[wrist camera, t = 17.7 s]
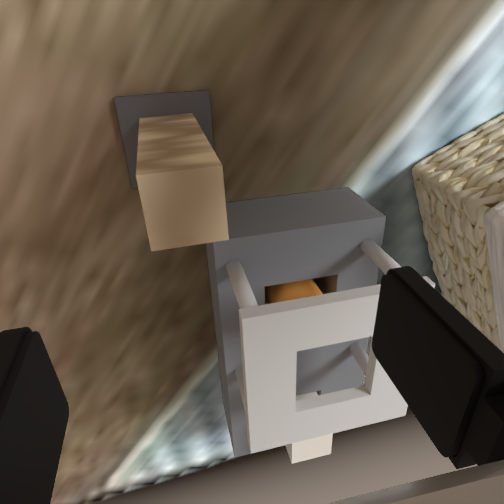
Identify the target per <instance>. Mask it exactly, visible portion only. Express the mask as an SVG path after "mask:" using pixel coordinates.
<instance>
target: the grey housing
mask: <svg viewBox="0 0 504 504" xmlns="http://www.w3.org/2000/svg"><path fill="white" fill-rule="evenodd" d="M226 212H227V223H228V235H229V240H224V241H217V242H211V243H206V251H207V260H208V269H209V278H210V287H211V296H212V305H213V314H214V323H215V332H216V341H217V350H218V359H219V368H220V377H221V386H222V395H223V404H224V409H225V414H226V418H227V423H228V428H229V433H230V437H231V442H232V447H233V452H234V456H235V457H238V456H242V455H246V454H250V453H255V452H259V451H263V450H267V449H271V448H275V447H279V446H283V445H287V444H291V443H295V442H300V441H304V440H308V439H312V438H316V437H320V436H324V435H328V434H332V433H336V432H340V431H344V430H348V429H352V428H356V427H360V426H365V425H368V424H373V423H377V422H381V421H385V420H389V419H393V418H397V417H401V416H405V415H406V411H407V406H408V405H407V403H406V402H405V400H404V399H403V397H402V396H401V394H400V393H399V391H398V390H397V388H396V387H395V385H394V384H393V382H392V381H391V379H390V378H389V376H388V375H387V373H386V372H385V370H384V369H383V367H382V366H381V365H380V363H379V362H378V360H377V359H376V357H375V355H374V353H373V350H372V339H373V332H374V326H375V319H376V313H377V306H378V300H379V293H380V287H381V284H378V285H377V279H378V272H379V269H380V270H381V271H382V272H383V273H384V274H385V275H386V274H387V271H388V270H389V269H392V268H399V267H401V266H400V265H399V264H398V263H397V262H396V261H395V260H393V259H392V258H391V257H390V256H389V255H388V254H387V253H386V252H385V251H384V250H383V249H382V243H383V236H384V229H385V222H386V216H385V215H384V214H382V213H381V212H380V211H378V210H377V209H376V208H374V207H373V206H372V205H371V204H369V203H368V202H367V201H365V200H364V199H363V198H361V197H360V196H359V195H358V194H356V193H355V192H354V191H352V190H351V189H350V188H348V187H346V188H338V189H330V190H322V191H314V192H306V193H299V194H291V195H283V196H275V197H267V198H259V199H251V200H244V201H236V202H228V203H226ZM423 278H424V279H425V280H426V281H427V282H428V283H429V284H430V285H431V286H432V287H433V288H434V289H435V283H434V282H433V281H432V280H430V279H429V278H428V277H427V276H423ZM308 279H313V280H314V282H315V283H316V285H317V286H318V288H319V289H320V291H321V292H322V293H323V294H322V295H316V296H311V297H305V298H299V299H294V300H288V301H282V302H277V303H271V304H267V302H266V300H265V288H264V287H266V286H272V285H278V284H284V283H290V282H296V281H302V280H308ZM371 336H372V337H371ZM369 337H371V344H370V351H369V356H368V354H367V350H368V343H369ZM364 374H365V375H366V379H365V385H363V378H364ZM362 385H363V386H362ZM315 391H316V392H317V394H318V396H314V397H310V398H305V399H301V400H296V396H297V395H302V394H306V393H311V392H315Z"/></svg>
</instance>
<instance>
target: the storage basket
mask: <svg viewBox="0 0 504 504" xmlns="http://www.w3.org/2000/svg"><path fill="white" fill-rule="evenodd" d="M412 176H413V179H414V187H415V189H416V197H417V199H418V202H419V211H420V214H421V217H422V221H423V232H424V236H425V238H426V240H427V242H428V251H429V255H430V258H431V260H432V261H433V270H434V273H435V275H436V278H438V282H439V286H440V288H441V290H442V291H441V293H440V294H442V296H443V297H444V298H445V299H446V300H447V301H448V302H449V303H450V304H451V305H453V306H454V307H455V308H456V309H457V310H458V311H459V312H460V313H461V314H462V315H463V316H464V317H465V318H466V319H468V320H469V321H470V322H471V323H472V324H473V325H474V326H475V327H476V328H477V329H478V330H479V331H480V332H481V333H482V334H484V335H485V336H486V337H487V338H488V339H489V340H490V341H491V342H492V343H493V344H494V345H495V346H496V347H497V348H499V349H500V350H501V351H502V352H503V353H504V113H503V114H501V115H500V116H498V117H497V118H495V119H493V120H490V121H488V122H486V123H485V124H483V125H482V126H480V127H479V128H478V129H477V130H476V131H471V132H469V133H467V134H465V135H463V136H461V137H459V138H458V139H457V140H455V141H454V142H453V143H452V144H450V145H447V146H445V147H443V148H441V149H439V150H438V151H436V152H435V153H434V154H433V155H431V156H429V157H427V158H425V159H423V160H421V161H420V162H418V163H417V164H416V165H415V166H414V167H413V169H412Z"/></svg>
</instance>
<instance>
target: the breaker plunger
mask: <svg viewBox="0 0 504 504" xmlns="http://www.w3.org/2000/svg"><path fill="white" fill-rule="evenodd" d="M264 288H265V300H266V302H267V304H271V303H277V302H282V301H288V300H294V299H299V298H305V297H311V296H316V295H322V294H323V293H322V292H321V291H320V289H319V288H318V286H317V285H316V283H315V282H314V280H313V279H308V280H302V281H296V282H290V283H284V284H278V285H272V286H266V287H264Z"/></svg>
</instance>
